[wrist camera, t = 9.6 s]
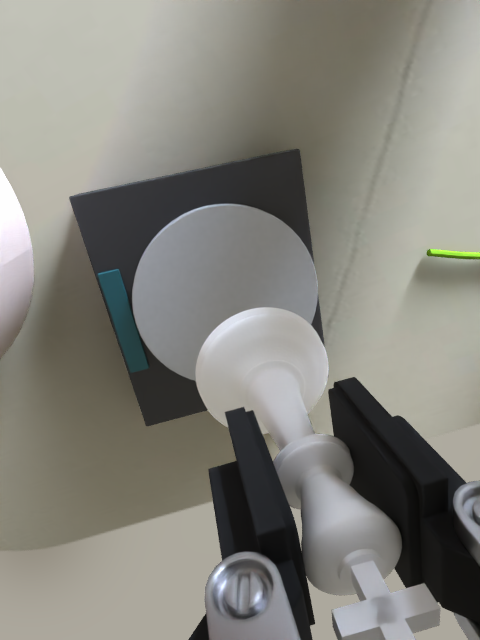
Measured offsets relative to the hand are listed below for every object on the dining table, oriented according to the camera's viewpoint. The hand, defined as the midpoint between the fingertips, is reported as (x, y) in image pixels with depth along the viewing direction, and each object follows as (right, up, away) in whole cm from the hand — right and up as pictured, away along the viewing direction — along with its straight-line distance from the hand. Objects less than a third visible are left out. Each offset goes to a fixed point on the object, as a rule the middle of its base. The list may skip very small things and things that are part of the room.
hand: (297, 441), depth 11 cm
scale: (-3, +5, +15) cm, 16 cm away
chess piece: (-1, +2, +4) cm, 5 cm away
